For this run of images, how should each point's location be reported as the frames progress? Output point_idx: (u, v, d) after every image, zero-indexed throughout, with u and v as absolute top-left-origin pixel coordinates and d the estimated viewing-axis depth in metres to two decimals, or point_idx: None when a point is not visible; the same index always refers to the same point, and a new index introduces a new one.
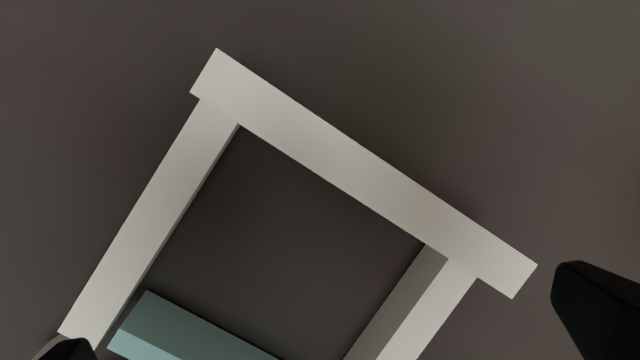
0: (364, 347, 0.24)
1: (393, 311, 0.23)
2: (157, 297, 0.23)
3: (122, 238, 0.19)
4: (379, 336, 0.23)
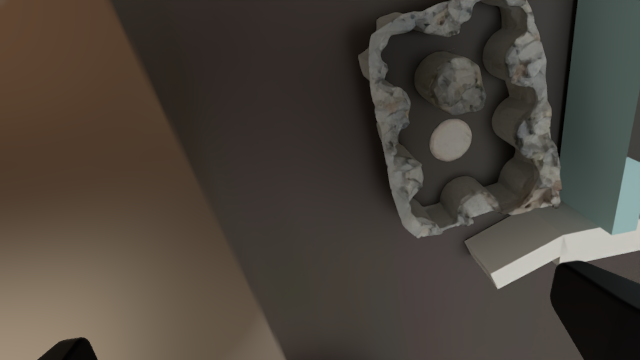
0: None
1: None
2: None
3: None
4: None
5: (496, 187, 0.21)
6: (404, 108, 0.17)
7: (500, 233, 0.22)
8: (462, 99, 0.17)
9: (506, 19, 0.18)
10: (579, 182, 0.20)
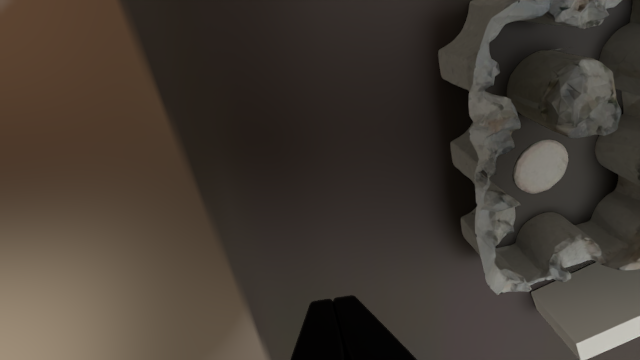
0: None
1: None
2: None
3: None
4: None
5: (589, 228, 0.17)
6: (511, 127, 0.12)
7: (581, 287, 0.18)
8: (588, 118, 0.12)
9: None
10: None
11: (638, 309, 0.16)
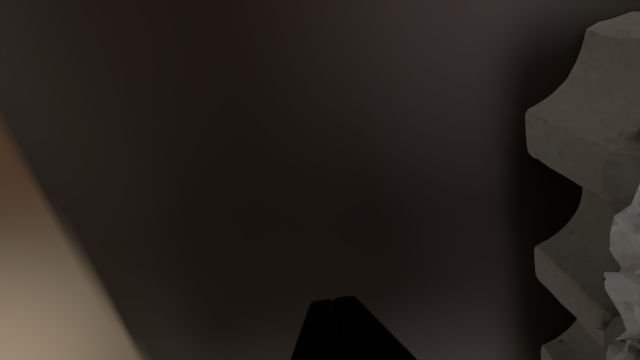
0: None
1: None
2: None
3: None
4: None
5: None
6: None
7: None
8: None
9: None
10: None
11: None
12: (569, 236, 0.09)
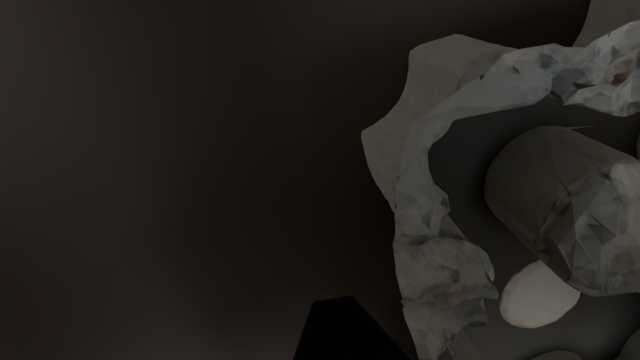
0: None
1: None
2: None
3: None
4: None
5: None
6: (481, 296, 0.06)
7: None
8: (627, 269, 0.06)
9: None
10: None
11: None
12: None
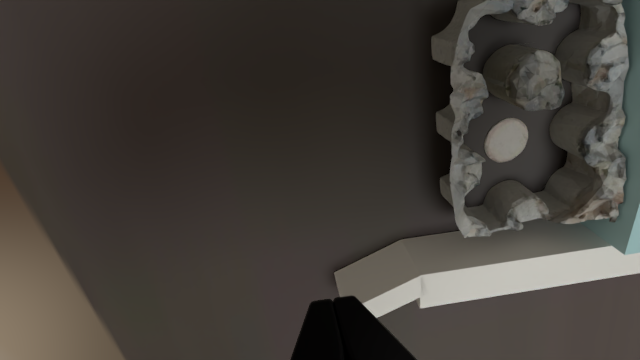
0: (529, 235, 0.21)
1: (586, 230, 0.20)
2: None
3: None
4: (560, 238, 0.20)
5: (542, 195, 0.21)
6: (481, 96, 0.16)
7: (367, 267, 0.21)
8: (539, 95, 0.16)
9: (587, 20, 0.17)
10: None
11: (395, 283, 0.19)
12: None
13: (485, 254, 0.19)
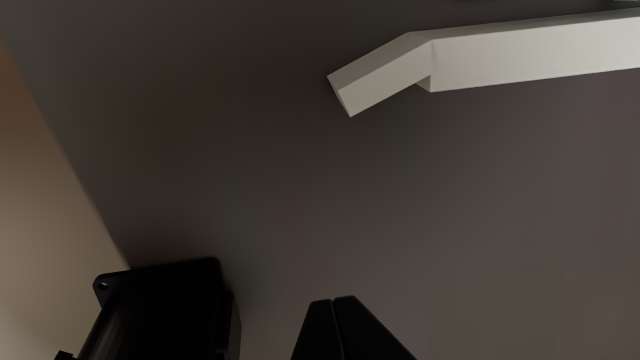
0: (561, 19, 0.17)
1: (629, 12, 0.17)
2: None
3: None
4: (599, 17, 0.17)
5: None
6: None
7: (366, 59, 0.17)
8: None
9: None
10: None
11: (400, 54, 0.15)
12: None
13: (509, 28, 0.16)
